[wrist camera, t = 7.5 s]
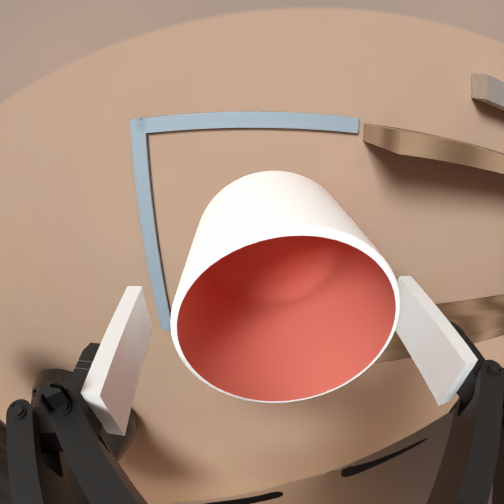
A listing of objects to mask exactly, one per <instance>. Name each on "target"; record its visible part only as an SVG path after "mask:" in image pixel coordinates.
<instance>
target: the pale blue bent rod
mask: <svg viewBox="0 0 504 504" xmlns="http://www.w3.org/2000/svg"><path fill="white" fill-rule="evenodd" d="M130 126H131V141H132V153H133V164H134V174H135V183H136V192H137V200H138V208H139V215H140V222H141V228H142V235H143V241H144V247H145V253H146V259H147V264H148V269H149V275H150V280H151V285H152V289H153V294H154V299H155V304H156V308H157V312H158V317H159V321H160V325H161V329H162V331H171V324H170V319H171V315H170V310H169V305H168V300H167V294H166V289H165V283H164V278H163V272H162V266H161V260H160V253H159V247H158V240H157V233H156V225H155V218H154V209H153V201H152V192H151V182H150V171H149V160H148V147H147V133H153V132H163V131H175V130H190V129H209V128H295V129H314V130H329V131H341V132H351V133H358V126H359V118H352V117H343V116H333V115H321V114H307V113H288V112H214V113H195V114H181V115H169V116H159V117H150V118H141V119H134V120H130Z"/></svg>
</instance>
